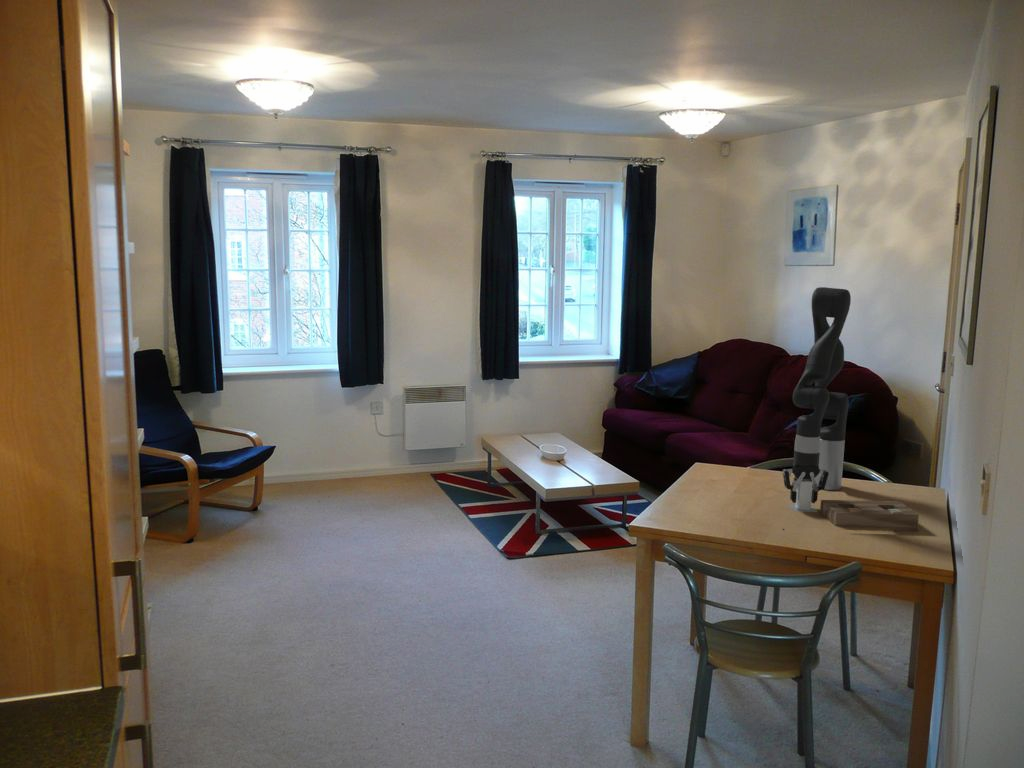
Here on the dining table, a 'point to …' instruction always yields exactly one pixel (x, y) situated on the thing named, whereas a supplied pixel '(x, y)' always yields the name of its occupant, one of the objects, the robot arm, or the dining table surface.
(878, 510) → the socket block
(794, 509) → the thin square blue plate
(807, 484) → the plug
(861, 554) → the dining table surface
